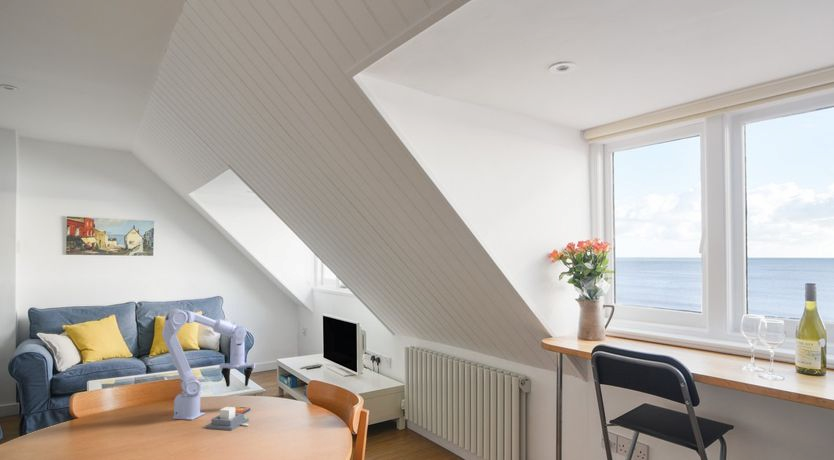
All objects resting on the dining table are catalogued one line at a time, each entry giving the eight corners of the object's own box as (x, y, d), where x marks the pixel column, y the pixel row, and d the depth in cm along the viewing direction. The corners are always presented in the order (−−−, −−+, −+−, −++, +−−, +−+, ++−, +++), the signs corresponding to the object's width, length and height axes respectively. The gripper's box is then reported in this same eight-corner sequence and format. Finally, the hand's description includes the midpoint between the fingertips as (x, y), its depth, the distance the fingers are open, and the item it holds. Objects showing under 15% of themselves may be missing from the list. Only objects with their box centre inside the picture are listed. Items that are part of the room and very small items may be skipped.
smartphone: (214, 421, 195) (214, 419, 195) (235, 409, 210) (235, 406, 210) (231, 422, 194) (231, 420, 194) (251, 410, 208) (251, 407, 208)
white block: (219, 423, 189) (219, 409, 189) (226, 419, 193) (226, 406, 193) (228, 423, 188) (228, 410, 188) (235, 420, 192) (235, 407, 192)
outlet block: (206, 428, 186) (206, 420, 186) (224, 418, 197) (224, 411, 197) (239, 431, 183) (239, 422, 183) (256, 421, 193) (256, 413, 193)
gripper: (217, 356, 207) (216, 388, 207) (252, 354, 209) (252, 387, 208) (222, 352, 214) (222, 384, 214) (256, 351, 216) (256, 383, 215)
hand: (237, 385), depth 211 cm, fingers open, 7 cm apart
